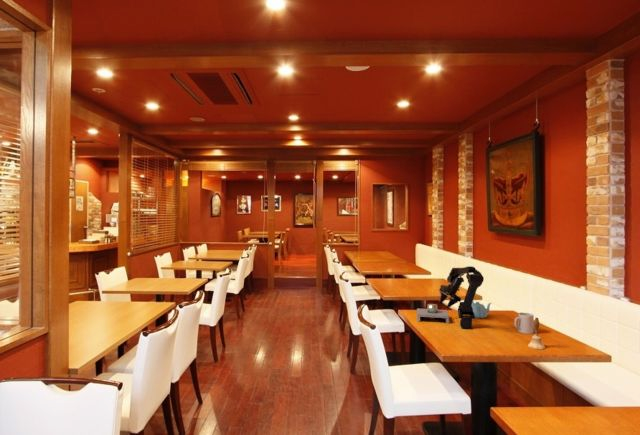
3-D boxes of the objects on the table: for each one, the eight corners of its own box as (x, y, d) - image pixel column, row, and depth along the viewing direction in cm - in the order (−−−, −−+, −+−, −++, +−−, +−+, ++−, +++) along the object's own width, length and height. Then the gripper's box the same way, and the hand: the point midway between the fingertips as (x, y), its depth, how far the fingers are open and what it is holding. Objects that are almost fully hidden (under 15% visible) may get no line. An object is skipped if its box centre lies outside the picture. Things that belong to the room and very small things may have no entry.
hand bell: (524, 344, 211) (524, 316, 211) (538, 344, 212) (539, 315, 212) (534, 349, 203) (534, 320, 203) (548, 349, 204) (549, 319, 204)
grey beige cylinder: (436, 316, 263) (436, 304, 263) (437, 319, 257) (437, 306, 257) (427, 316, 265) (427, 303, 264) (427, 318, 258) (427, 305, 258)
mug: (526, 329, 239) (526, 312, 239) (536, 333, 231) (537, 315, 231) (509, 330, 237) (510, 313, 237) (519, 334, 228) (519, 316, 228)
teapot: (482, 320, 259) (483, 305, 259) (461, 316, 270) (462, 301, 270) (491, 316, 269) (492, 302, 269) (471, 312, 280) (471, 298, 280)
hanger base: (446, 317, 266) (446, 310, 266) (448, 323, 251) (448, 316, 251) (416, 315, 271) (416, 308, 271) (417, 321, 255) (417, 314, 255)
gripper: (438, 276, 263) (427, 296, 262) (453, 283, 245) (441, 304, 244) (451, 284, 265) (440, 303, 265) (466, 291, 247) (454, 312, 247)
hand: (443, 305), depth 255 cm, fingers open, 9 cm apart
